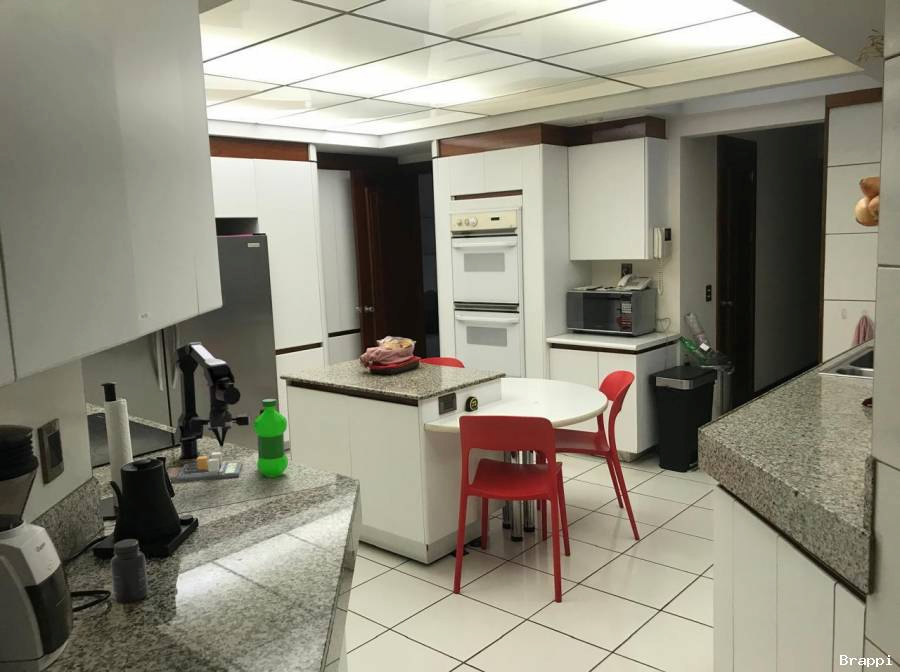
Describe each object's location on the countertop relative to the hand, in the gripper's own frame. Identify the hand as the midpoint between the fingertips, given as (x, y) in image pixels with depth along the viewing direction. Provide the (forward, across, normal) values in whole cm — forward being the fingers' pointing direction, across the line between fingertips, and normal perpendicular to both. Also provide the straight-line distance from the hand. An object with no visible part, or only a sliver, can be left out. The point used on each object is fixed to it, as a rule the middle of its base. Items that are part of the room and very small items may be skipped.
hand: (221, 446), depth 241 cm
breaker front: (+7, -2, -4) cm, 9 cm away
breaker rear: (+8, -2, +4) cm, 9 cm away
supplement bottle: (+9, -10, -87) cm, 88 cm away
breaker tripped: (+7, -6, 0) cm, 10 cm away
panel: (+9, -6, 0) cm, 11 cm away
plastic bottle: (+9, +17, -7) cm, 20 cm away
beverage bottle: (+9, +15, +3) cm, 17 cm away
